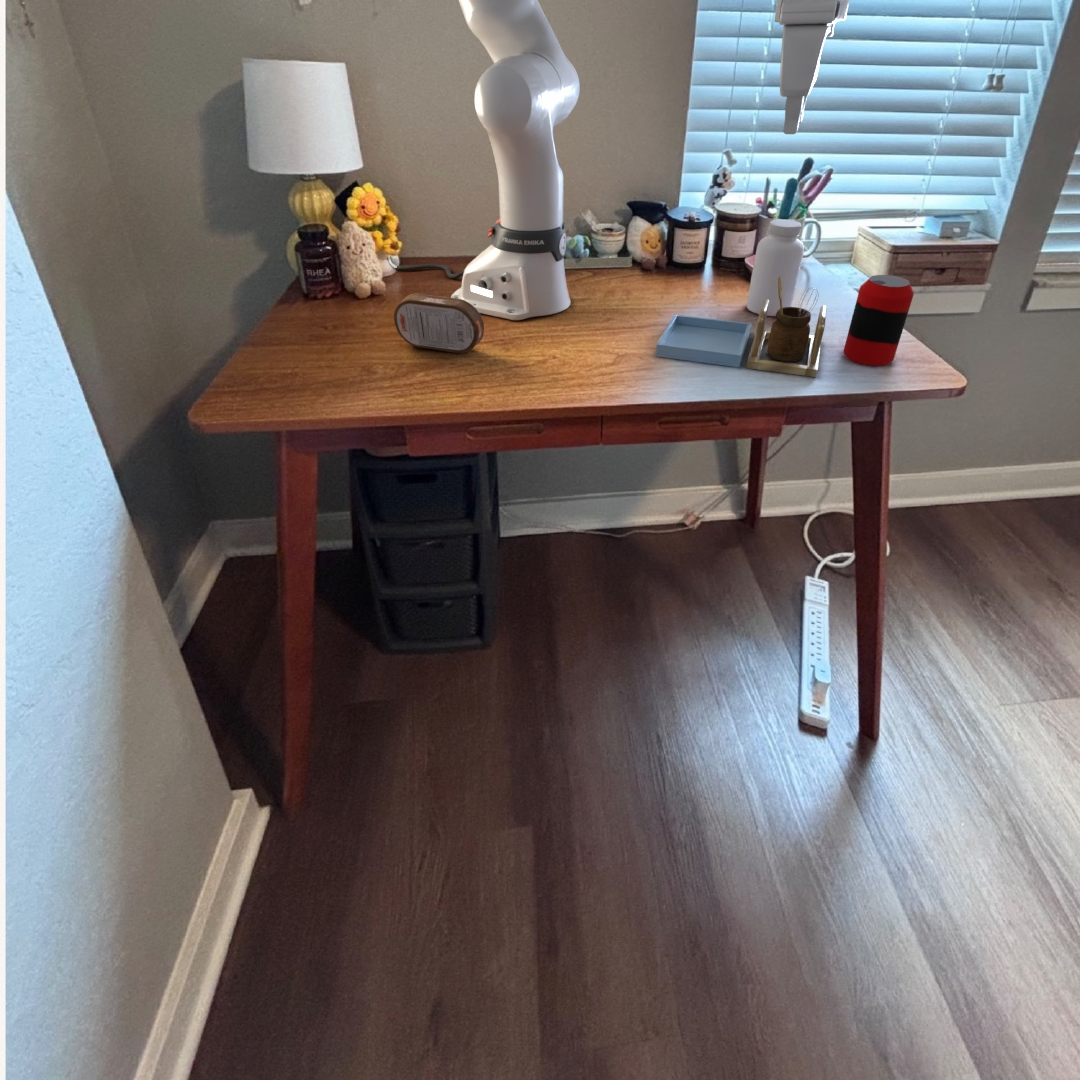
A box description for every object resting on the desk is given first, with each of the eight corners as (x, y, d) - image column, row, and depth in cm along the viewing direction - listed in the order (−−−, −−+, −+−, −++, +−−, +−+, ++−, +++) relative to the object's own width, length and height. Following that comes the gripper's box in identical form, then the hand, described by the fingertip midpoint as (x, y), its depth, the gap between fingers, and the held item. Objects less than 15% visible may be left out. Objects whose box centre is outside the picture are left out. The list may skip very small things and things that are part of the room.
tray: (655, 356, 115) (656, 344, 114) (672, 325, 126) (674, 314, 125) (739, 367, 112) (741, 355, 110) (749, 334, 122) (751, 323, 121)
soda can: (832, 352, 116) (851, 276, 109) (868, 344, 119) (889, 270, 111) (867, 370, 111) (889, 291, 103) (904, 361, 113) (928, 284, 106)
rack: (745, 368, 112) (753, 323, 107) (755, 335, 122) (763, 293, 118) (815, 377, 109) (826, 332, 104) (819, 343, 119) (830, 300, 115)
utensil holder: (801, 365, 112) (819, 287, 105) (760, 358, 114) (775, 282, 107) (807, 351, 116) (824, 276, 109) (767, 345, 119) (782, 271, 111)
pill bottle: (792, 318, 128) (811, 229, 119) (746, 315, 129) (761, 227, 120) (789, 303, 134) (807, 218, 125) (745, 300, 136) (759, 215, 127)
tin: (486, 350, 117) (483, 299, 112) (478, 358, 115) (475, 306, 110) (403, 339, 121) (397, 289, 116) (394, 346, 119) (387, 295, 114)
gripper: (792, 4, 101) (775, 118, 109) (779, 7, 85) (761, 139, 94) (839, 3, 99) (819, 118, 107) (836, 5, 84) (812, 140, 92)
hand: (792, 128), depth 100 cm, fingers open, 8 cm apart
